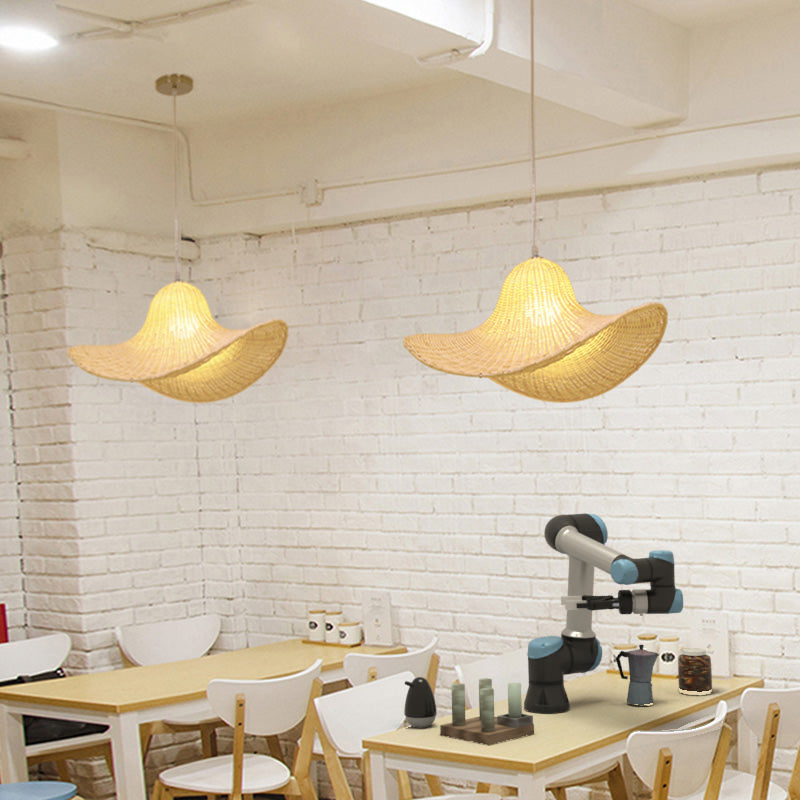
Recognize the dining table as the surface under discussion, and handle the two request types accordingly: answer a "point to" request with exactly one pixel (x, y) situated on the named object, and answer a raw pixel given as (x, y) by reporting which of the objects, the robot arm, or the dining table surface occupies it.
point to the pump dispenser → (420, 703)
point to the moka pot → (639, 675)
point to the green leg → (514, 700)
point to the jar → (694, 670)
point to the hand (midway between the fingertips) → (563, 603)
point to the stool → (484, 719)
